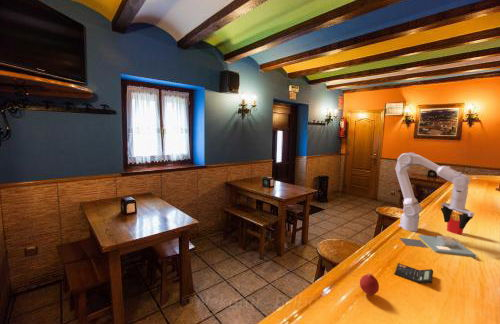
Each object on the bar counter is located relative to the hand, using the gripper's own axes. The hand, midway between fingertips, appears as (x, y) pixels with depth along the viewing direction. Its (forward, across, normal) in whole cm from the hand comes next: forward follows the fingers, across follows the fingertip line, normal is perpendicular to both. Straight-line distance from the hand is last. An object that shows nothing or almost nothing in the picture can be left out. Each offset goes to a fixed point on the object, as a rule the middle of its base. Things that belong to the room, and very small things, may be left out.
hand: (453, 225), depth 120 cm
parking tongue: (+10, -1, -21) cm, 23 cm away
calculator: (+10, +22, -41) cm, 48 cm away
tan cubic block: (+10, +4, -8) cm, 13 cm away
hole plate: (+10, +4, -8) cm, 13 cm away
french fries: (+10, -11, +16) cm, 22 cm away
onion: (+10, +30, -67) cm, 74 cm away
